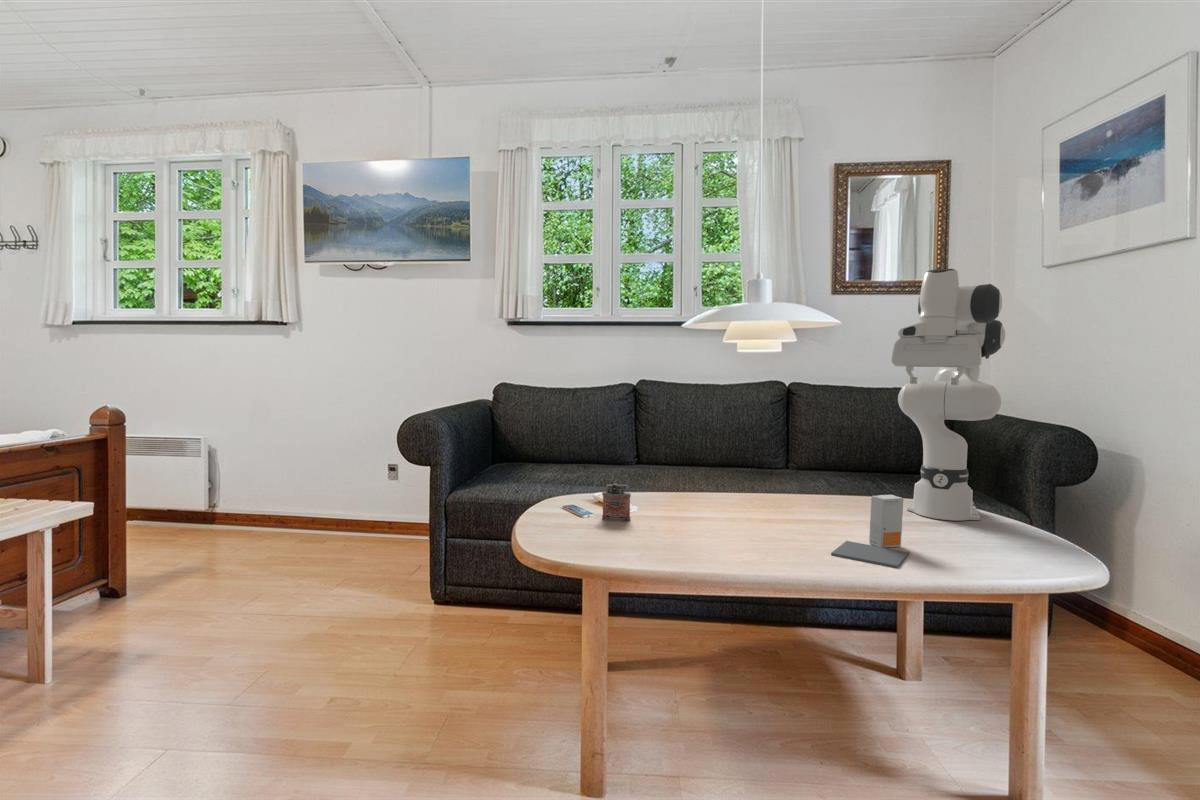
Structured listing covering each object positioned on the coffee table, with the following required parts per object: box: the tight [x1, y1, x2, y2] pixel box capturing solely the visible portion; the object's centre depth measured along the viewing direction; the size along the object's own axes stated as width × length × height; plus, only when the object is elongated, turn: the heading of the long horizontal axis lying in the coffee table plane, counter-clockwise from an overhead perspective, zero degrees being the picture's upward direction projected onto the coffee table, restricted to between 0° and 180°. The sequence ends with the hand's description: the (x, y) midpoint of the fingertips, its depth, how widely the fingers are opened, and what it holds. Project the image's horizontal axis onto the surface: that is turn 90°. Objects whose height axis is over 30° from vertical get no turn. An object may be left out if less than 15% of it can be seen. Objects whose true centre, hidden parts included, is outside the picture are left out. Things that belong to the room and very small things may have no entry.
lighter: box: [601, 483, 632, 523], centre depth 170 cm, size 8×3×10 cm, turn 73°
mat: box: [830, 540, 910, 569], centre depth 141 cm, size 12×14×1 cm
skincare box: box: [868, 494, 904, 548], centre depth 148 cm, size 6×4×12 cm
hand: (933, 384), depth 157 cm, fingers open, 8 cm apart
